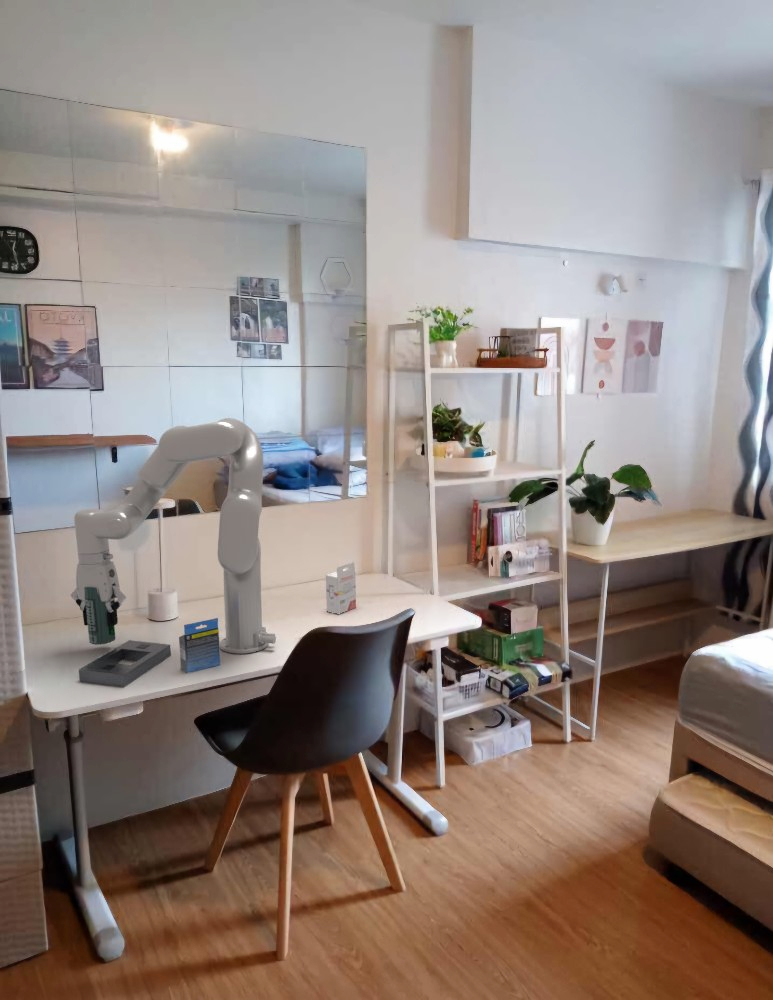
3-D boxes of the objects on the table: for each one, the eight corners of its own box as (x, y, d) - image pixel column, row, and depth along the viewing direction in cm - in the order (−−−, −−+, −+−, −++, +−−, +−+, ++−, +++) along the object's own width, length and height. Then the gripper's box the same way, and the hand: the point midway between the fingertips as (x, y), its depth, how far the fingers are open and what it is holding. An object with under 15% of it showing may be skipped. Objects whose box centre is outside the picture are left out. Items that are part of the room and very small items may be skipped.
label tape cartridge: (214, 660, 190) (212, 613, 188) (220, 665, 187) (218, 617, 185) (180, 668, 185) (177, 620, 182) (186, 674, 182) (183, 625, 179)
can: (119, 639, 196) (113, 584, 194) (96, 646, 192) (90, 589, 190) (108, 634, 201) (103, 580, 198) (86, 640, 196) (80, 585, 194)
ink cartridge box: (344, 605, 234) (343, 559, 231) (356, 608, 231) (356, 561, 228) (325, 612, 227) (324, 564, 225) (338, 615, 224) (337, 567, 222)
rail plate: (170, 655, 193) (170, 644, 192) (124, 687, 174) (123, 674, 173) (130, 651, 196) (129, 639, 196) (79, 681, 177) (78, 669, 177)
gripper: (132, 555, 194) (138, 622, 197) (75, 552, 198) (82, 617, 202) (114, 562, 187) (121, 631, 190) (55, 560, 191) (63, 627, 194)
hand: (100, 624), depth 196 cm, fingers closed on can, 6 cm apart
